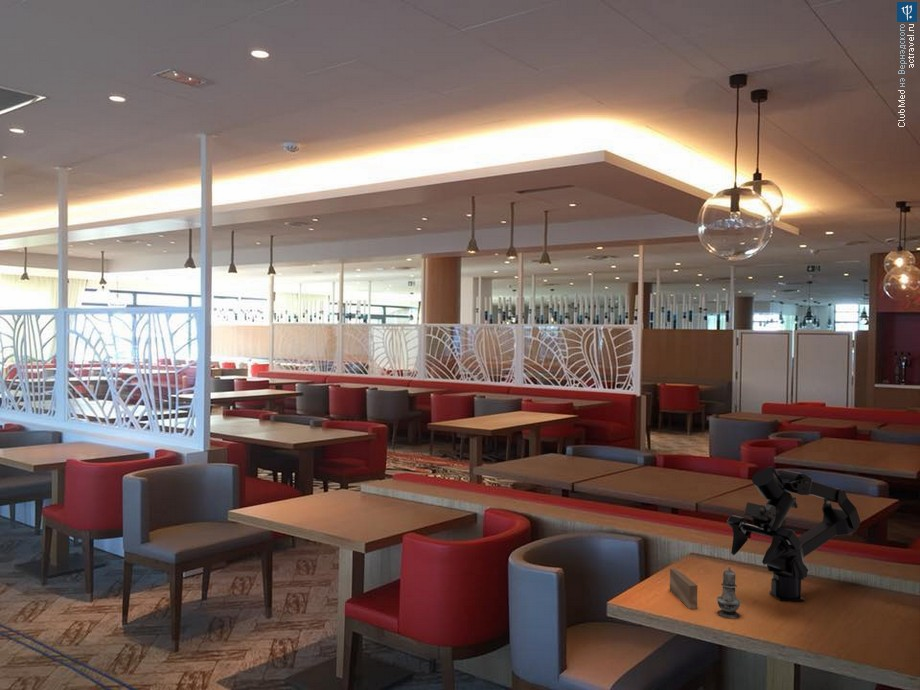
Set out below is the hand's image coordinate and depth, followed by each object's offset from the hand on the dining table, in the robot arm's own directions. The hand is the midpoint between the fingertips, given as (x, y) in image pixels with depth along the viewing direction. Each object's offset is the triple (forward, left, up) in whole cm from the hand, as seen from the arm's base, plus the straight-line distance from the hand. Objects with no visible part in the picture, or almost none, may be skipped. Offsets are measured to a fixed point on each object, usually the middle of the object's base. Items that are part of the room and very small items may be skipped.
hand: (747, 558), depth 198 cm
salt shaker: (+6, +3, -13) cm, 15 cm away
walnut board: (+14, -8, -13) cm, 20 cm away
